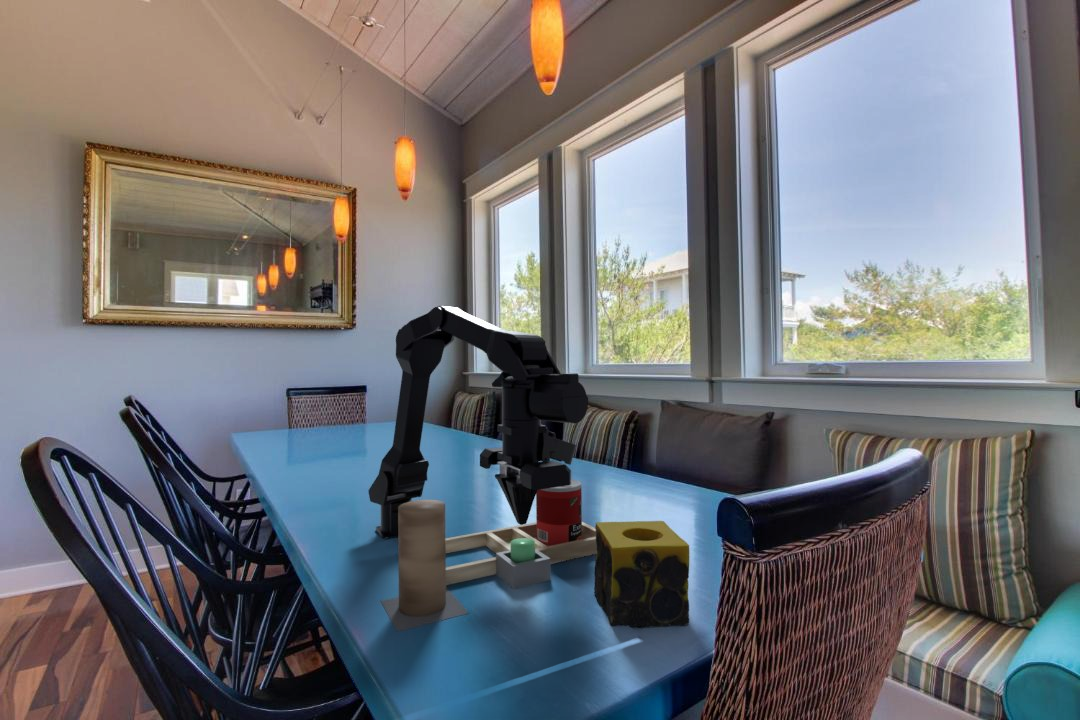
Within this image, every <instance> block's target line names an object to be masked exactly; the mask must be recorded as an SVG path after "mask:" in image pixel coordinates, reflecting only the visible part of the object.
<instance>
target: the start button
mask: <svg viewBox="0 0 1080 720" xmlns="http://www.w3.org/2000/svg"><path fill="white" fill-rule="evenodd" d="M511 560H512V561H513V562H515V563H516V564H517V563H521V562H526V561H531V560H535V541H534V540H532V539H528V538H518V539H514V540H512V541H511Z"/></svg>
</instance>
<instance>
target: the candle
mask: <svg viewBox="0 0 1080 720" xmlns="http://www.w3.org/2000/svg"><path fill="white" fill-rule="evenodd" d="M594 528H595V530H596V545H597V554H596V556H595V564H594V567H593V568H594V571H593V572H594V582H593V583H594V587H593V589H594V590H593V591H594V592H593V593H594V594H595V597H596V601H597V603H598V604H599V607H600V608H602V611H604V613H605V614H606V616H607V618H608V623H609V625H610V626H611V627H624V626H625V627H630V628H633V629H634V628H643V629H644V628H657V627H669V626H688V625H689V623H690V613H689V612H690V602H689V601H690V600H689V578H690V577H689V573H690V544H689V543H688V542H687V541H685V540H684V539H683V538H681V536H679V535H678V534H677V532H675V531H674V530H673V529H672V528H671V527H670V526H669V525H668V524H667V522H665V521H663V520H649V521H647V520H645V521H643V520H640V521H639V520H637V521H602V522H601V521H600V522H599V521H597V522H595V527H594Z"/></svg>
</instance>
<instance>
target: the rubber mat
mask: <svg viewBox="0 0 1080 720" xmlns="http://www.w3.org/2000/svg"><path fill="white" fill-rule="evenodd" d="M380 603H381V605H382V606H383V608H384V610H385V612H386V614H387V616H388V617H389V620H390V622H391V623H392V625H393V627H394V628H395V631H396V633H398V632H402V631H406V630H409V629H414V628H417V627H422V626H426V625H429V624H433V623H437V622H441V621H444V620H449V619H453V618H457V617H460V616H464V615H468V614H470V613H469V612H468V610H467V609H466V608H465V606H463V605H462V603H461V602H460V601H459V600H458V599H457V597H456V596H455V595H454V594H453V593H452V592H451V591H450V590H449V588H448V587H447V586H446V605H445V607H444V608H443V609H442V610H441V611H439V612H437V613H434V614H431V615H427V616H420V617H414V616H407V615H404V614H402V613H401V612H400V611H399V596H398V597H393V598H389V599H384V600H380Z"/></svg>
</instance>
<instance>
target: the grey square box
mask: <svg viewBox="0 0 1080 720" xmlns="http://www.w3.org/2000/svg"><path fill="white" fill-rule="evenodd" d="M495 557H496V574H495V575H496V576H497V577H498V578H500V579H501V580H503V582H505V583H506V584H507V585H508V586H510V588H512V589H513V590H516V589H521V588H524V587H528V586H532V585H536V584H541V583H544V582H549V581H551V579H552V577H551V576H552V575H551V573H552V572H551V571H552V569H551V565H552V564H551V559H550V558H549V557H547V556H546V555H544V554H543V553H541V552H540V551H538V550H537V549H535V560H531V561H526V562H521V563H517V564H516V563H515V562H513V561H512V560H511V550H509V551H504V552H499V553H495Z"/></svg>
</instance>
